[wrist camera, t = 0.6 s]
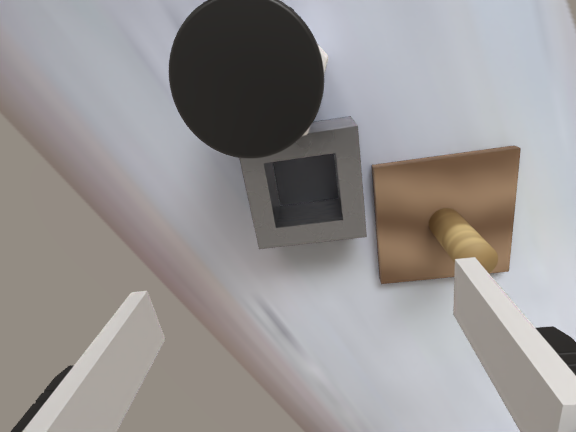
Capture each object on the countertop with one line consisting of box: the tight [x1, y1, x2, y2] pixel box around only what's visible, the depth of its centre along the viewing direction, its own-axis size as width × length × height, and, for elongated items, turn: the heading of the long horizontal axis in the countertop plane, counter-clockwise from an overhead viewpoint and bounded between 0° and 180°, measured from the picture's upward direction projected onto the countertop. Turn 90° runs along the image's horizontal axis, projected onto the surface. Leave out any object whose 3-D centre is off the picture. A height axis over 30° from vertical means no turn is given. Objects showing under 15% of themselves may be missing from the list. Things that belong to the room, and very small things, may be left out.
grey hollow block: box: [240, 116, 367, 249], centre depth 30 cm, size 9×9×5 cm
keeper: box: [372, 146, 521, 284], centre depth 30 cm, size 12×12×8 cm
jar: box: [169, 0, 328, 159], centre depth 24 cm, size 9×8×12 cm
